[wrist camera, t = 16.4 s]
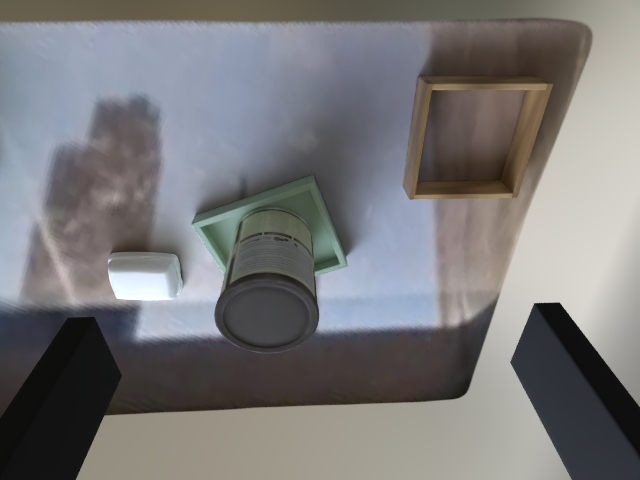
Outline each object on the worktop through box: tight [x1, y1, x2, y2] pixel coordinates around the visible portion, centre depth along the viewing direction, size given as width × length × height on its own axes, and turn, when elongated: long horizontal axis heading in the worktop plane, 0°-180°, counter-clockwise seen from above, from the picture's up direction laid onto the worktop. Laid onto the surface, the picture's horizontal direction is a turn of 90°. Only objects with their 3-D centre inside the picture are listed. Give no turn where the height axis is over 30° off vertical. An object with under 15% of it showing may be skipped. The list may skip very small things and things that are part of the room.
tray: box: [192, 175, 347, 276], centre depth 50 cm, size 16×13×2 cm
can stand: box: [403, 76, 553, 199], centre depth 43 cm, size 13×13×4 cm
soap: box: [108, 252, 183, 300], centre depth 52 cm, size 9×7×3 cm
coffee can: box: [215, 206, 319, 353], centre depth 45 cm, size 10×10×14 cm
